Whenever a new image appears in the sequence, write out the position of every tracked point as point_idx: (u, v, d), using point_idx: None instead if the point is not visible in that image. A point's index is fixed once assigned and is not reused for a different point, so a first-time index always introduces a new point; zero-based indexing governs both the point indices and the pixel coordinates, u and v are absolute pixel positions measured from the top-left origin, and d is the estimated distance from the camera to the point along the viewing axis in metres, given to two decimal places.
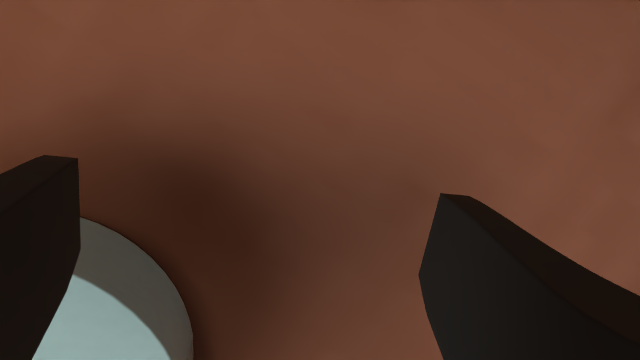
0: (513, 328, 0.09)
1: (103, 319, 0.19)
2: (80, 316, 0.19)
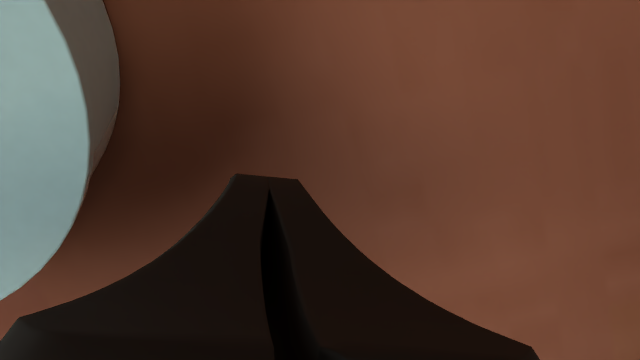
0: (280, 313, 0.09)
1: (45, 91, 0.14)
2: (20, 67, 0.13)
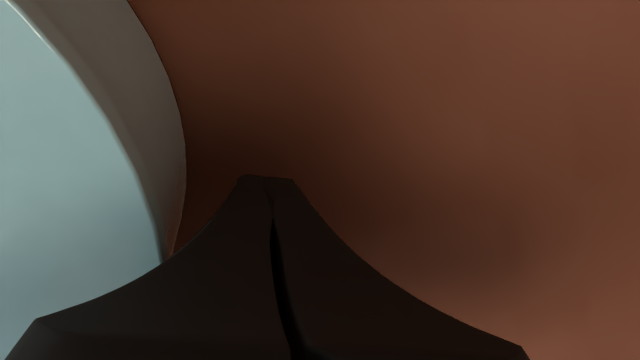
0: None
1: (100, 248, 0.08)
2: (62, 215, 0.08)
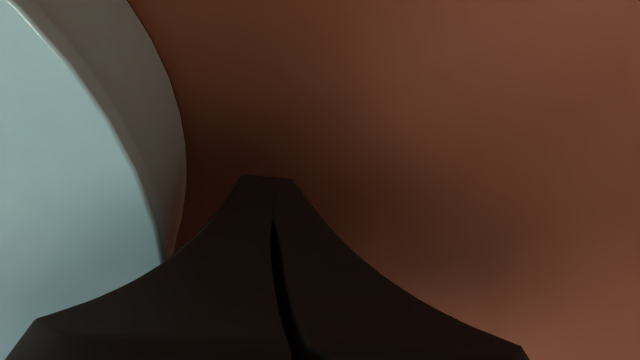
0: None
1: (101, 248, 0.08)
2: (62, 215, 0.08)
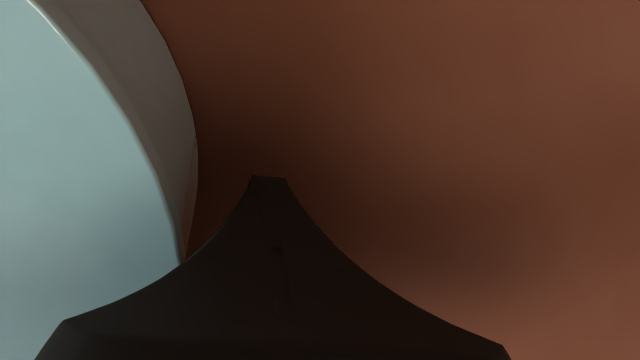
0: None
1: (119, 250, 0.08)
2: (81, 217, 0.08)
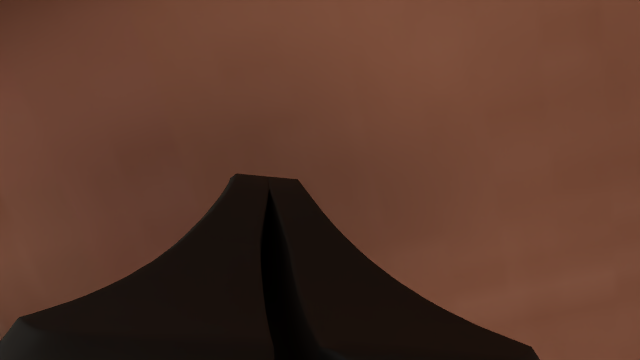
0: (280, 313, 0.09)
1: None
2: None
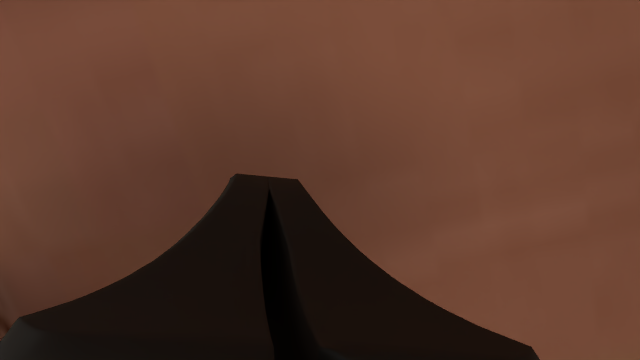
0: (280, 313, 0.09)
1: None
2: None
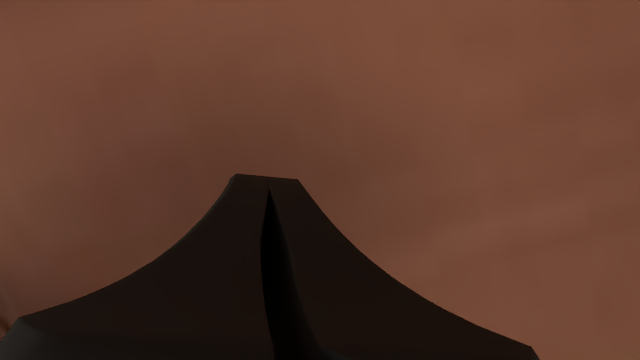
0: (280, 313, 0.09)
1: None
2: None
